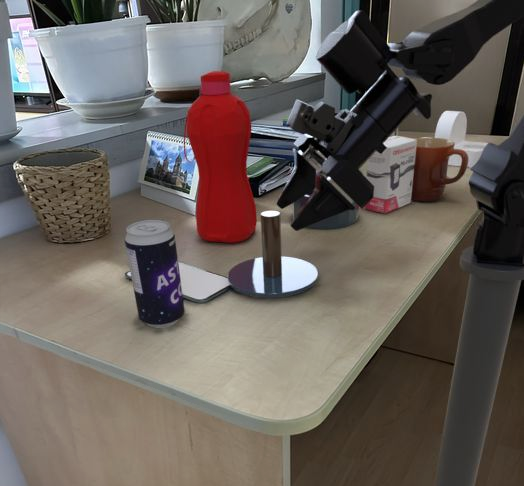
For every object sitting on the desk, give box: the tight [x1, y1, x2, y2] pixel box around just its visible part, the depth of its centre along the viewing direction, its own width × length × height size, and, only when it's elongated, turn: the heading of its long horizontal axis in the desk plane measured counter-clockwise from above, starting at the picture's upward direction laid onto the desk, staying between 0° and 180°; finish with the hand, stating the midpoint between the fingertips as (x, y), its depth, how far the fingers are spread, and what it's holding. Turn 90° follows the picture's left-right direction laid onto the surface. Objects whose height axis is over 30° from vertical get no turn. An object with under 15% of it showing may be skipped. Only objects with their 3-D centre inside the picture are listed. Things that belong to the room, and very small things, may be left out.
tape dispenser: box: [421, 110, 489, 169], centre depth 128 cm, size 10×18×11 cm, turn 51°
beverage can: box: [124, 219, 186, 329], centre depth 65 cm, size 6×6×12 cm
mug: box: [411, 137, 468, 203], centre depth 102 cm, size 12×9×10 cm
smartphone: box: [124, 261, 233, 304], centre depth 77 cm, size 8×1×16 cm
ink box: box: [364, 135, 417, 214], centre depth 99 cm, size 8×5×12 cm, turn 134°
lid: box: [226, 210, 319, 299], centre depth 74 cm, size 13×13×10 cm
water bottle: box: [183, 70, 258, 244], centre depth 86 cm, size 9×11×25 cm
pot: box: [291, 190, 360, 230], centre depth 97 cm, size 12×12×5 cm
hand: (285, 216), depth 72 cm, fingers open, 9 cm apart
